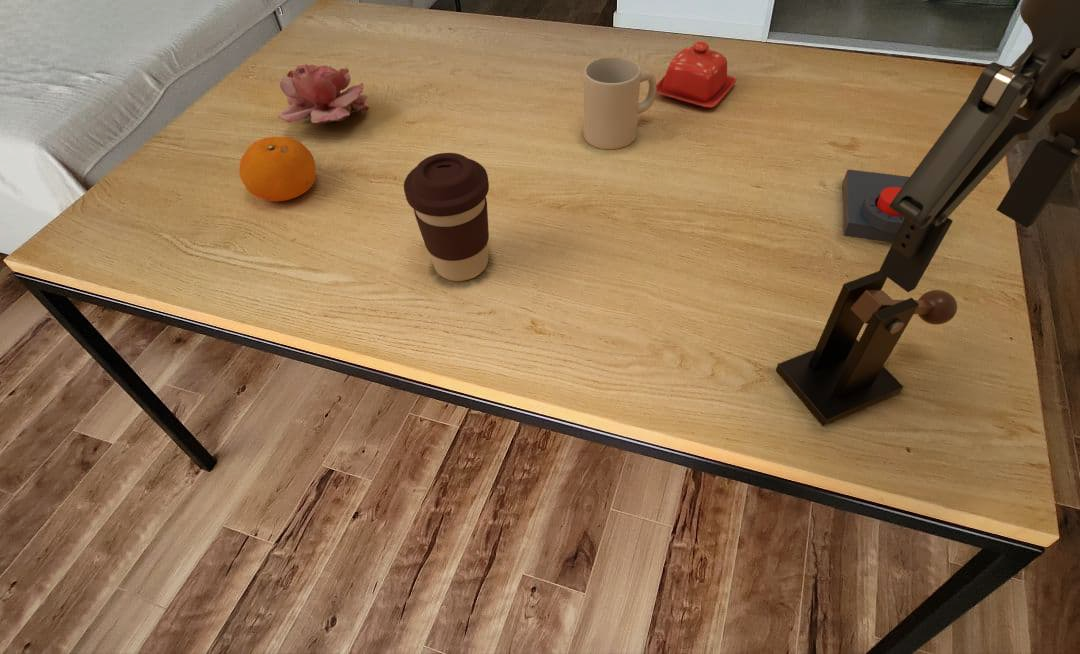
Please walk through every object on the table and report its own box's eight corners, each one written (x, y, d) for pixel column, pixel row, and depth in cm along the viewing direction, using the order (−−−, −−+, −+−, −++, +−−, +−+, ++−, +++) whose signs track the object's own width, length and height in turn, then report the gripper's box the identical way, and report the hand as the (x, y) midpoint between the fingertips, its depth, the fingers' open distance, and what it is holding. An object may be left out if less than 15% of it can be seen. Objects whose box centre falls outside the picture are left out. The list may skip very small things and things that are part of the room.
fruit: (304, 215, 94) (285, 169, 88) (239, 208, 95) (216, 163, 89) (333, 172, 100) (317, 127, 94) (272, 167, 102) (252, 122, 96)
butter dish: (738, 84, 112) (748, 35, 105) (711, 116, 106) (719, 66, 99) (678, 69, 116) (683, 21, 110) (648, 98, 110) (653, 50, 104)
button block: (926, 251, 82) (939, 227, 79) (843, 239, 85) (853, 216, 82) (918, 191, 90) (929, 167, 87) (842, 181, 93) (851, 158, 90)
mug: (598, 155, 100) (599, 89, 92) (574, 129, 105) (574, 64, 97) (665, 135, 103) (672, 69, 94) (639, 110, 108) (643, 46, 100)
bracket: (848, 341, 73) (892, 251, 63) (900, 393, 69) (956, 305, 58) (775, 370, 71) (808, 282, 61) (822, 426, 66) (867, 341, 56)
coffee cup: (474, 299, 81) (457, 204, 70) (410, 276, 84) (383, 182, 73) (512, 250, 86) (501, 155, 75) (449, 231, 90) (430, 137, 78)
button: (911, 219, 81) (916, 208, 80) (877, 214, 82) (881, 203, 81) (908, 200, 84) (913, 189, 82) (875, 195, 85) (880, 185, 83)
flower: (355, 133, 102) (336, 67, 97) (273, 142, 105) (250, 79, 100) (388, 109, 114) (373, 50, 109) (314, 118, 117) (296, 61, 112)
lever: (920, 308, 70) (944, 283, 68) (946, 331, 67) (972, 305, 65) (840, 308, 62) (864, 279, 60) (866, 334, 60) (892, 305, 58)
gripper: (1189, -111, 40) (1017, 171, 56) (911, -14, 33) (804, 278, 49) (1334, -79, 36) (1102, 217, 52) (1050, 41, 29) (883, 342, 45)
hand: (957, 247), depth 51 cm, fingers open, 13 cm apart
